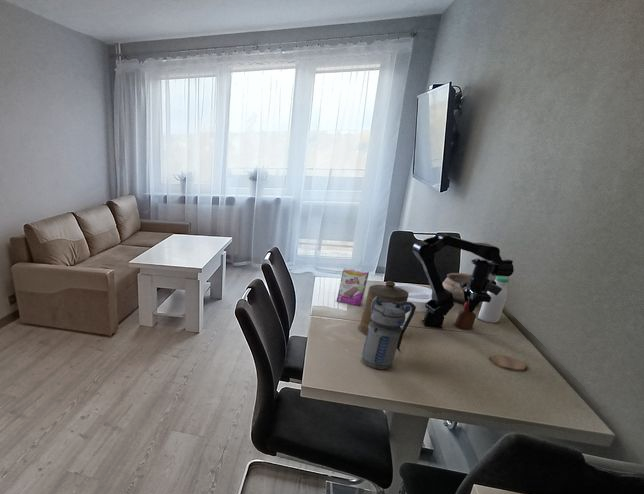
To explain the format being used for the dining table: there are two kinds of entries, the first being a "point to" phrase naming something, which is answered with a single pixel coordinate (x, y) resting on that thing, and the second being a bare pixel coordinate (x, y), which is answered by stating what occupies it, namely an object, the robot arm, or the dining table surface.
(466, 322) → the bottle
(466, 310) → the red toy block
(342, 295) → the candy bar box
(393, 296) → the wooden container
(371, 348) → the beverage bottle
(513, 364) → the coaster
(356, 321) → the dining table surface
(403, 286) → the white circle with bar
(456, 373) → the dining table surface
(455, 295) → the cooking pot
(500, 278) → the milk bottle
